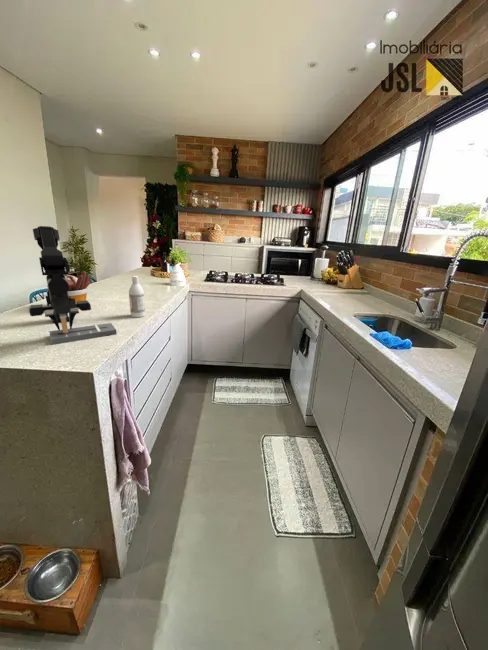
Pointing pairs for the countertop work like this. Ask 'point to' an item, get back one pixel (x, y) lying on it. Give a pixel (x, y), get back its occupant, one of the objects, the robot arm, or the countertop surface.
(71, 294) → the bucket of meat
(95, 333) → the console
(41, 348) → the countertop surface
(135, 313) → the bath foam
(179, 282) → the honey pot
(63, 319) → the fader tab
